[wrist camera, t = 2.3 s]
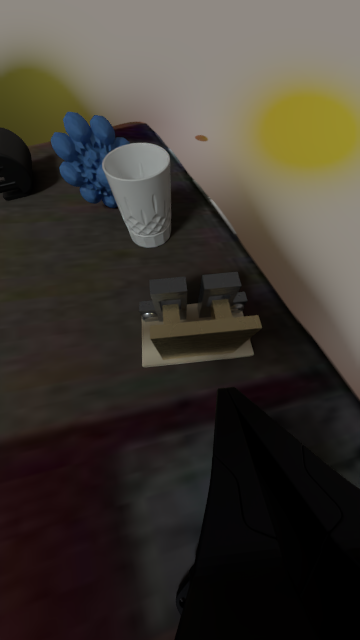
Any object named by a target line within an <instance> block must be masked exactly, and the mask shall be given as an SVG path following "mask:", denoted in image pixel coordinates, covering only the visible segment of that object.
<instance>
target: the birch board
mask: <svg viewBox="0 0 360 640" xmlns="http://www.w3.org/2000/svg"><path fill="white" fill-rule="evenodd" d="M197 306H198V303H196V304H187V317H186V319H185V320H180V323H184V322H194V321H204V320H212V317H205V318H199V314H198V308H197ZM232 317H233V318H234V317H244V315H243V312H242V311H241V312H240V313H233V314H232ZM153 325H164V324H163V322H159V321H152V322H145V321H144V320H143V319H142V366H143V367H152V366H162V365H172V364H181V363H191V362H201V361H211V360H220V359H230V358H240V357H249V356H252V355H254V353H253V349H252V345H251V342H250V339H249V340H247V341H246V342H245V343H244V344H243V345H242V346H240V347H239V348H238V349H237V350H236V351H235V352H233V353H225V354H215V355H206V356H196V357H186V358H176V359H166V360H163V359H162V357H161V356H160V354H159V353H158V351H157V349H156V348H155V346H154V344H153V343H152V341H151V339H150V326H153Z"/></svg>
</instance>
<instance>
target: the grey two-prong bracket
mask: <svg viewBox="0 0 360 640" xmlns="http://www.w3.org/2000/svg"><path fill="white" fill-rule="evenodd" d="M240 288H241V283H240V279H239V275H238V272H230V273H219V274H208V275H202V279H201V286H200V292H199V299H198V306H197V308H198V314H199V318H205V317H212V316H211V310H210V306H211V303H212V300H222V299H228V301H229V305H230V309H231V313H232V314H233V313H240V312H241V311H243V310H244V305H245V304H246V302H247V297H246V294H245V292H238V291H239V289H240ZM150 296H151V299H152V301H143V302H139V312H140V313H141V315H142V319H143V320H144V321H145V322H152V321H159V322H163V309H162V305H171V304H178V305H179V315H180V320H185V319H186V317H187V285H186V278H185V277H177V278H166V279H155V280H150Z"/></svg>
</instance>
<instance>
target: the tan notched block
mask: <svg viewBox="0 0 360 640" xmlns="http://www.w3.org/2000/svg"><path fill="white" fill-rule="evenodd" d="M162 309H163V324H164V325H153V326H150V339H151V341H152V343H153V344H154V346H155V348H156V349H157V351H158V353H159V354H160V356H161V357H162V359H163V360H166V359H176V358H186V357H196V356H206V355H215V354H225V353H233V352H235V351H236V350H237V349H238V348H239V347H240V346H242V345H243V344H244V343H245V342H246V341H247V340H249V339H250V338H251V337H252V336H253V335H254V334H256V333H257V332H258V331H259V330H260V329H261V328H262V325H261V322H260V319H259V316H258V315H255V316H245V317H234V318H233V317H232V313H231V309H230V305H229V301H228V299H222V300H212V303H211V306H210V310H211V316H212V320H204V321H194V322H184V323H180V315H179V305H178V304H171V305H162Z"/></svg>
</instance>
